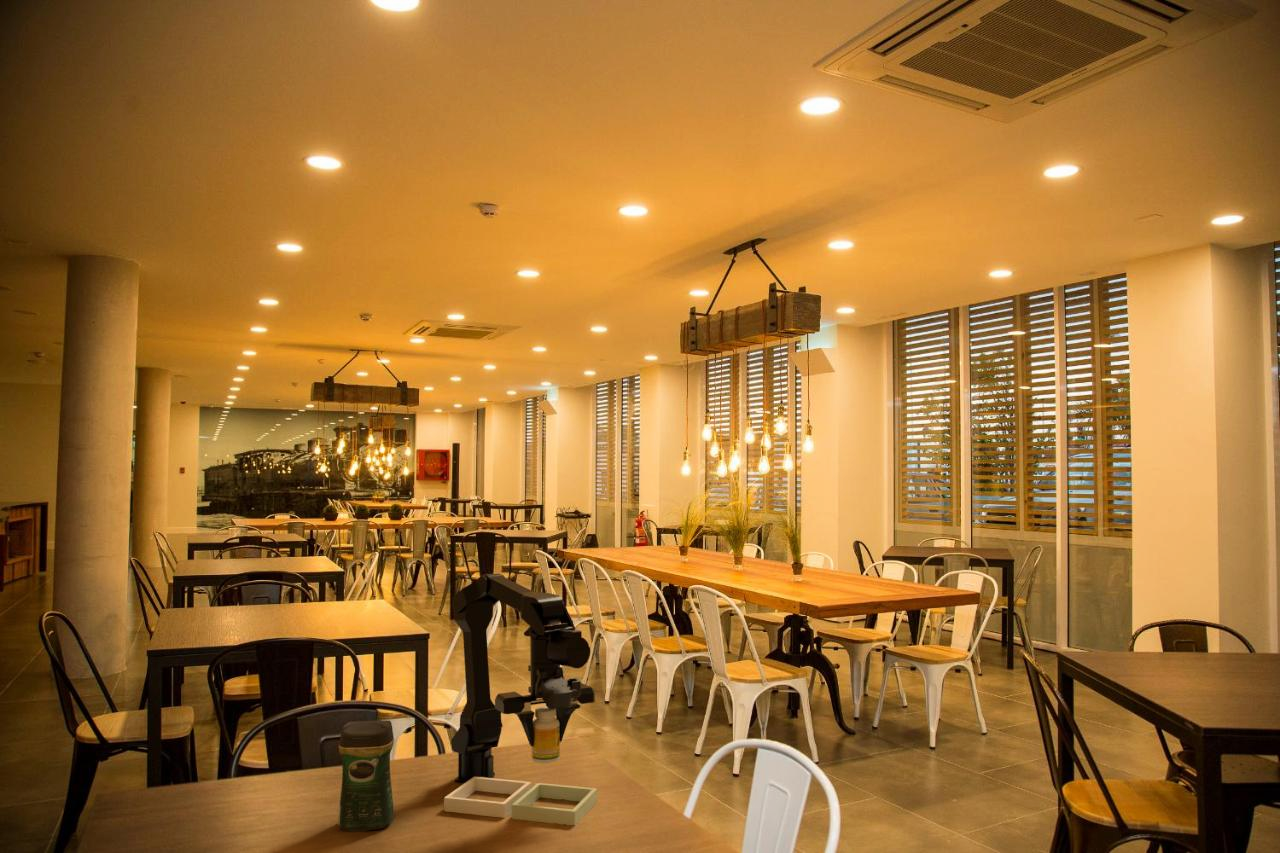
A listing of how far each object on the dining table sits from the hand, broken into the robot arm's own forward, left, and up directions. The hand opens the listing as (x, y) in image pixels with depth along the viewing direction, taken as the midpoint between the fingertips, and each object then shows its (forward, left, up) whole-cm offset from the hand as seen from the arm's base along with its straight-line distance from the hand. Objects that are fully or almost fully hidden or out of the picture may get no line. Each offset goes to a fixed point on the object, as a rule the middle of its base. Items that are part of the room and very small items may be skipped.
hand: (545, 743), depth 172 cm
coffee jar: (-29, -16, -13) cm, 35 cm away
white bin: (-12, 0, -12) cm, 17 cm away
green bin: (+2, 0, -12) cm, 13 cm away
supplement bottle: (0, 0, -3) cm, 3 cm away
